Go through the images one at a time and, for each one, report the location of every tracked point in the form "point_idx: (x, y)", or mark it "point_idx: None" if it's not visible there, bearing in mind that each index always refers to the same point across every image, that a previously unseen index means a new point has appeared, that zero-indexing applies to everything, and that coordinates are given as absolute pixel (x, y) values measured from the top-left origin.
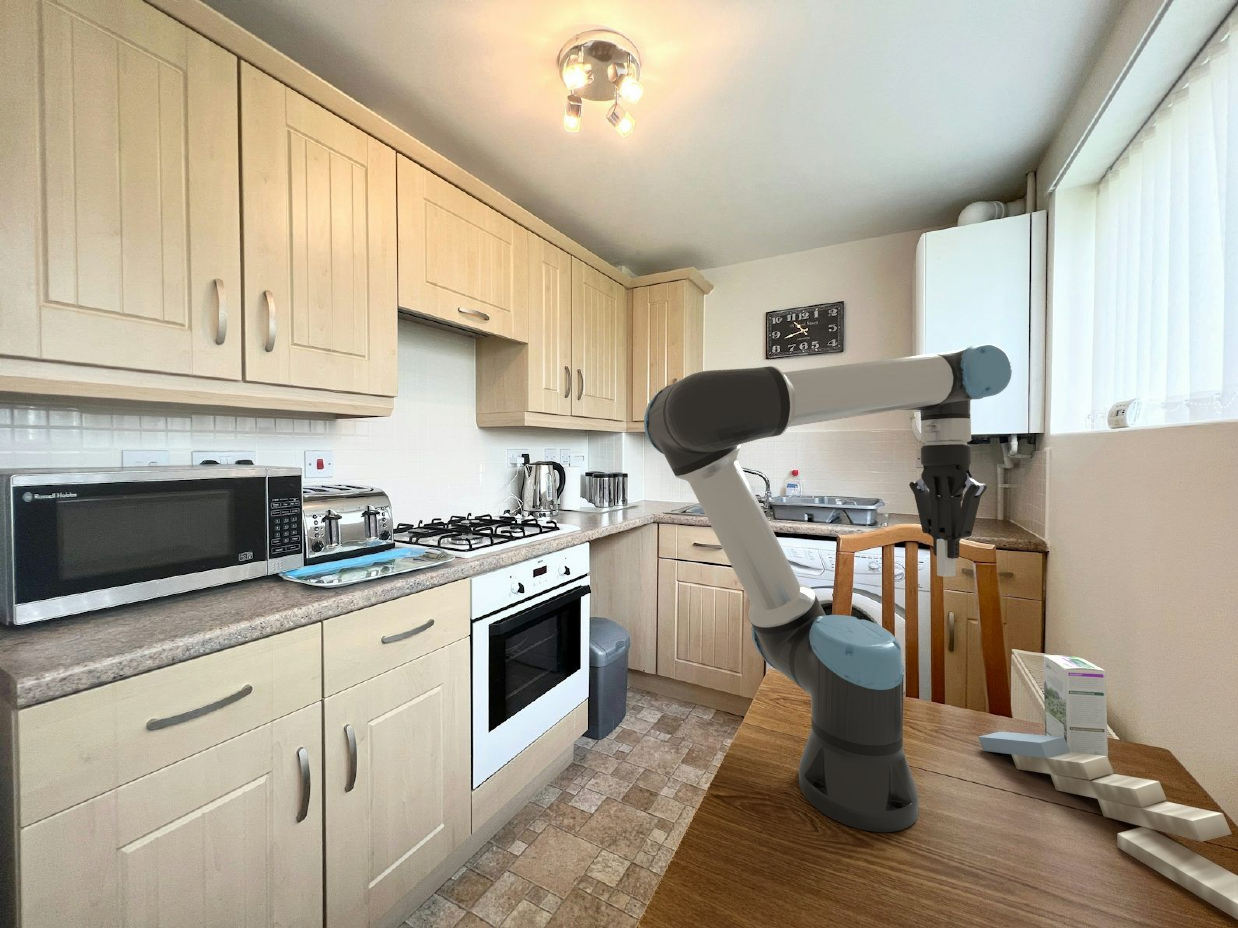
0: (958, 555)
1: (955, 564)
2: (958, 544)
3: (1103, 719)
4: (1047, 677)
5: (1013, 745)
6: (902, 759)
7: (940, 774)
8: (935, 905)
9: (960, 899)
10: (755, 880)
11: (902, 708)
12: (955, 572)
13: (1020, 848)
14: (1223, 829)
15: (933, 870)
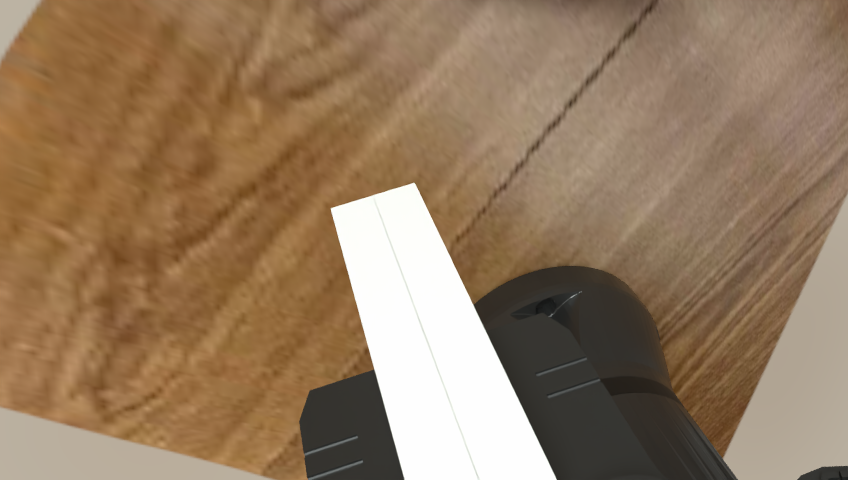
0: (571, 343)
1: (442, 245)
2: (637, 448)
3: None
4: None
5: None
6: (664, 376)
7: (527, 162)
8: (759, 344)
9: (765, 311)
10: None
11: (713, 450)
12: (420, 199)
13: (740, 160)
14: None
15: (719, 318)
